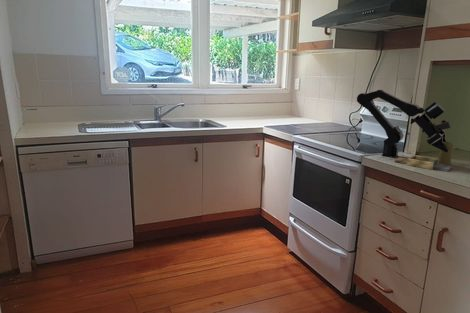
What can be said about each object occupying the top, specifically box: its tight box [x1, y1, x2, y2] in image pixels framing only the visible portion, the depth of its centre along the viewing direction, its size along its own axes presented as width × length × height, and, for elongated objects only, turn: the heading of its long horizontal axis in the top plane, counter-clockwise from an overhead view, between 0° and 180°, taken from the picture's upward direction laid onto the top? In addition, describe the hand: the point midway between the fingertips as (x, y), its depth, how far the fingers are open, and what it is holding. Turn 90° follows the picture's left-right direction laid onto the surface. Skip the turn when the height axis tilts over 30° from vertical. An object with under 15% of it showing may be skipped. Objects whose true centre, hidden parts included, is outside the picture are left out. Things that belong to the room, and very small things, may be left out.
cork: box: [437, 141, 454, 166], centre depth 167 cm, size 6×6×11 cm
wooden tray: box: [394, 155, 452, 172], centre depth 165 cm, size 23×11×3 cm, turn 49°
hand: (448, 150), depth 166 cm, fingers open, 9 cm apart
